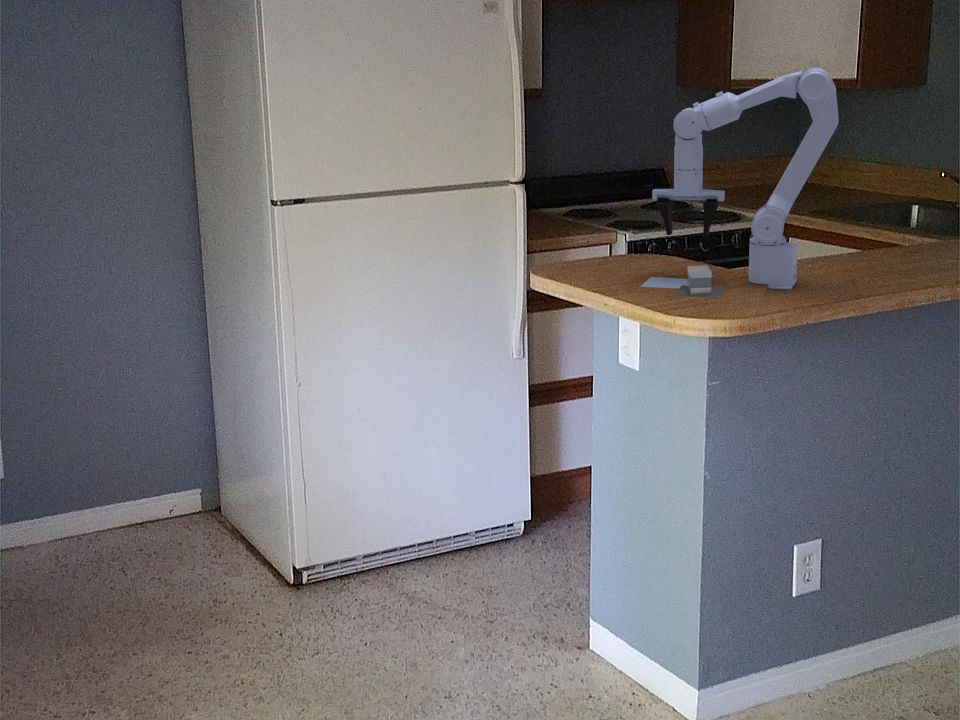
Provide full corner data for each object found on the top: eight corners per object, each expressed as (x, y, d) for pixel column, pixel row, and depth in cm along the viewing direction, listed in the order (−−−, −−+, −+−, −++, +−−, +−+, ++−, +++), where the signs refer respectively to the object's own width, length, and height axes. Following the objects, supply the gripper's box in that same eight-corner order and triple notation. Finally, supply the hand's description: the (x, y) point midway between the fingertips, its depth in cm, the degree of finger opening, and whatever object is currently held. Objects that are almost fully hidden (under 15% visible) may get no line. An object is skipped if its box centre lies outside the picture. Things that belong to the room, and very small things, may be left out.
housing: (711, 294, 237) (711, 272, 235) (690, 294, 237) (691, 272, 236) (707, 287, 242) (707, 265, 241) (687, 288, 243) (687, 266, 241)
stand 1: (693, 282, 250) (693, 279, 250) (683, 292, 242) (683, 288, 242) (651, 280, 254) (651, 276, 253) (640, 290, 246) (640, 286, 245)
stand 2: (726, 291, 242) (726, 287, 242) (717, 301, 234) (717, 297, 234) (682, 289, 245) (682, 285, 245) (671, 299, 237) (671, 295, 237)
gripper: (728, 166, 245) (726, 232, 249) (658, 165, 251) (658, 230, 255) (721, 171, 239) (719, 239, 243) (649, 170, 245) (649, 236, 248)
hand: (687, 235), depth 248 cm, fingers open, 7 cm apart
